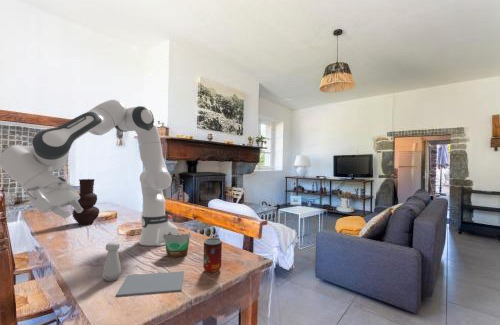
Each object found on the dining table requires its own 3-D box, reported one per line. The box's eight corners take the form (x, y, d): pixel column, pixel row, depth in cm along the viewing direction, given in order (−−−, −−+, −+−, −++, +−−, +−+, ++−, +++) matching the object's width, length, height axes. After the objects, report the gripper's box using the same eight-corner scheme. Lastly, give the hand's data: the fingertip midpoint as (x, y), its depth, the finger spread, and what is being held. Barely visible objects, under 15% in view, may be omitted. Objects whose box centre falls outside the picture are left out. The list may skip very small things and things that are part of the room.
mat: (115, 296, 77) (115, 294, 77) (127, 276, 91) (127, 275, 91) (181, 290, 81) (181, 289, 81) (183, 272, 95) (183, 271, 95)
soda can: (199, 270, 97) (200, 239, 98) (214, 265, 102) (215, 236, 102) (209, 276, 92) (210, 243, 92) (224, 271, 97) (225, 240, 97)
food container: (162, 260, 107) (162, 237, 107) (163, 255, 113) (163, 233, 113) (191, 257, 110) (191, 235, 110) (190, 252, 116) (191, 231, 116)
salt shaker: (117, 273, 93) (118, 239, 93) (123, 278, 89) (124, 242, 89) (100, 279, 88) (100, 242, 88) (106, 284, 85) (107, 246, 85)
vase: (103, 223, 168) (104, 179, 168) (78, 227, 155) (79, 180, 155) (92, 220, 176) (93, 178, 176) (67, 224, 163) (68, 179, 163)
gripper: (31, 181, 75) (67, 213, 77) (66, 178, 95) (94, 203, 97) (14, 196, 74) (50, 228, 76) (53, 189, 94) (80, 214, 96)
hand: (75, 214), depth 86 cm, fingers open, 8 cm apart
